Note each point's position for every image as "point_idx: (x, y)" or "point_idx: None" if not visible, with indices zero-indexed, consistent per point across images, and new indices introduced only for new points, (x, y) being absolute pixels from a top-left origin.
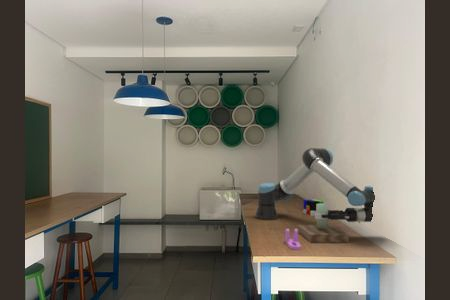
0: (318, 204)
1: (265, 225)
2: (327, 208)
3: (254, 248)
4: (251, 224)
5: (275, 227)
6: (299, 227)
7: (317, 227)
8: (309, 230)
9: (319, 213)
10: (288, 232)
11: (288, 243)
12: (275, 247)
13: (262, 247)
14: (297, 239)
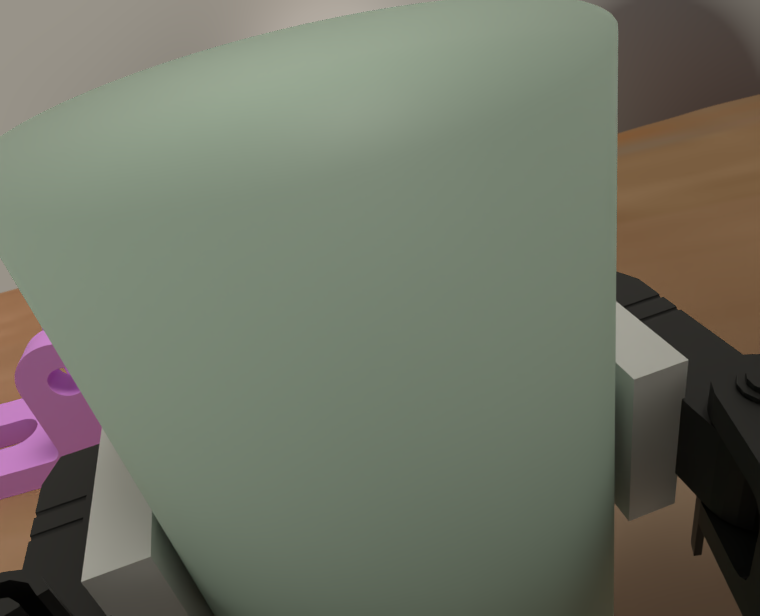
0: (260, 45)
1: (688, 178)
2: (125, 407)
3: (15, 289)
4: (642, 134)
5: (671, 232)
6: None
7: (618, 610)
8: None
9: None
10: None
11: (3, 404)
12: (3, 361)
13: (24, 310)
14: (56, 441)
